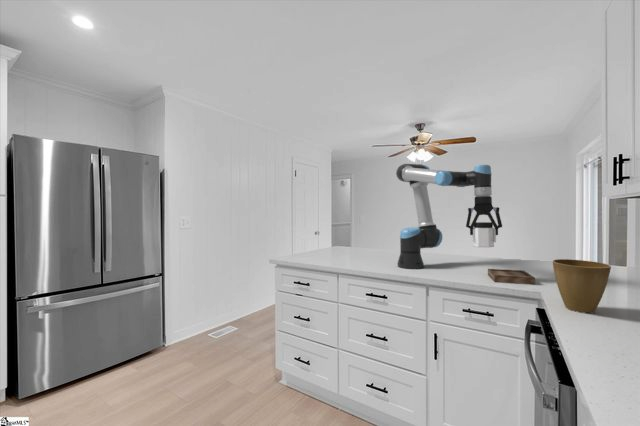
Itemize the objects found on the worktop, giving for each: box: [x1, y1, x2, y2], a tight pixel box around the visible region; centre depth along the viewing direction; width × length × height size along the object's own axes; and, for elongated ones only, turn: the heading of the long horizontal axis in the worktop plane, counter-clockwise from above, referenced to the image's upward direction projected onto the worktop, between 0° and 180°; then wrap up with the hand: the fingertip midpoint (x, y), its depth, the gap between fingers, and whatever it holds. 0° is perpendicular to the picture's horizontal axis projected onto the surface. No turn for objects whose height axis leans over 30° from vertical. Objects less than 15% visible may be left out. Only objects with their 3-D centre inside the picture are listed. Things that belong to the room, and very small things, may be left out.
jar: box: [472, 221, 495, 249], centre depth 148 cm, size 9×8×12 cm
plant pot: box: [552, 258, 612, 313], centre depth 101 cm, size 15×15×16 cm
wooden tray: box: [487, 268, 536, 286], centre depth 145 cm, size 16×16×3 cm
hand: (484, 241), depth 148 cm, fingers closed on jar, 8 cm apart
